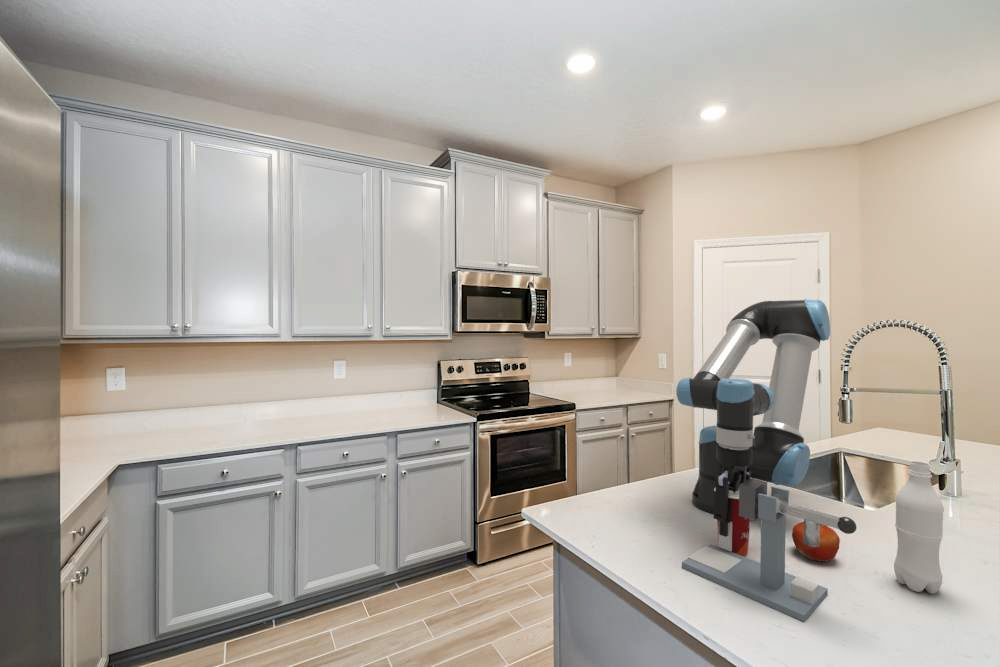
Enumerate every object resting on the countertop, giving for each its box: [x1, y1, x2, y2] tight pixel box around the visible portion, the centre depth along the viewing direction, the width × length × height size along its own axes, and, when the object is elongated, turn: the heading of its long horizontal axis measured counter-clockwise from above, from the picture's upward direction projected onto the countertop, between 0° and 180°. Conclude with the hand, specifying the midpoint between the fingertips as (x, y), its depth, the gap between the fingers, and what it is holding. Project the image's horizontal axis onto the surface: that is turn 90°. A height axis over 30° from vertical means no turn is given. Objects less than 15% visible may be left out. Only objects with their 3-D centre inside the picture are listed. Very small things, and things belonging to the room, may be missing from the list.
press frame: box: [681, 485, 829, 623], centre depth 93 cm, size 23×13×20 cm, turn 39°
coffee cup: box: [714, 486, 751, 557], centre depth 105 cm, size 8×8×15 cm
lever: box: [739, 478, 857, 547], centre depth 87 cm, size 18×6×9 cm, turn 39°
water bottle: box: [893, 460, 945, 595], centre depth 91 cm, size 7×7×25 cm
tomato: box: [791, 521, 841, 562], centre depth 103 cm, size 9×9×8 cm
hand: (732, 543), depth 106 cm, fingers closed on coffee cup, 7 cm apart
